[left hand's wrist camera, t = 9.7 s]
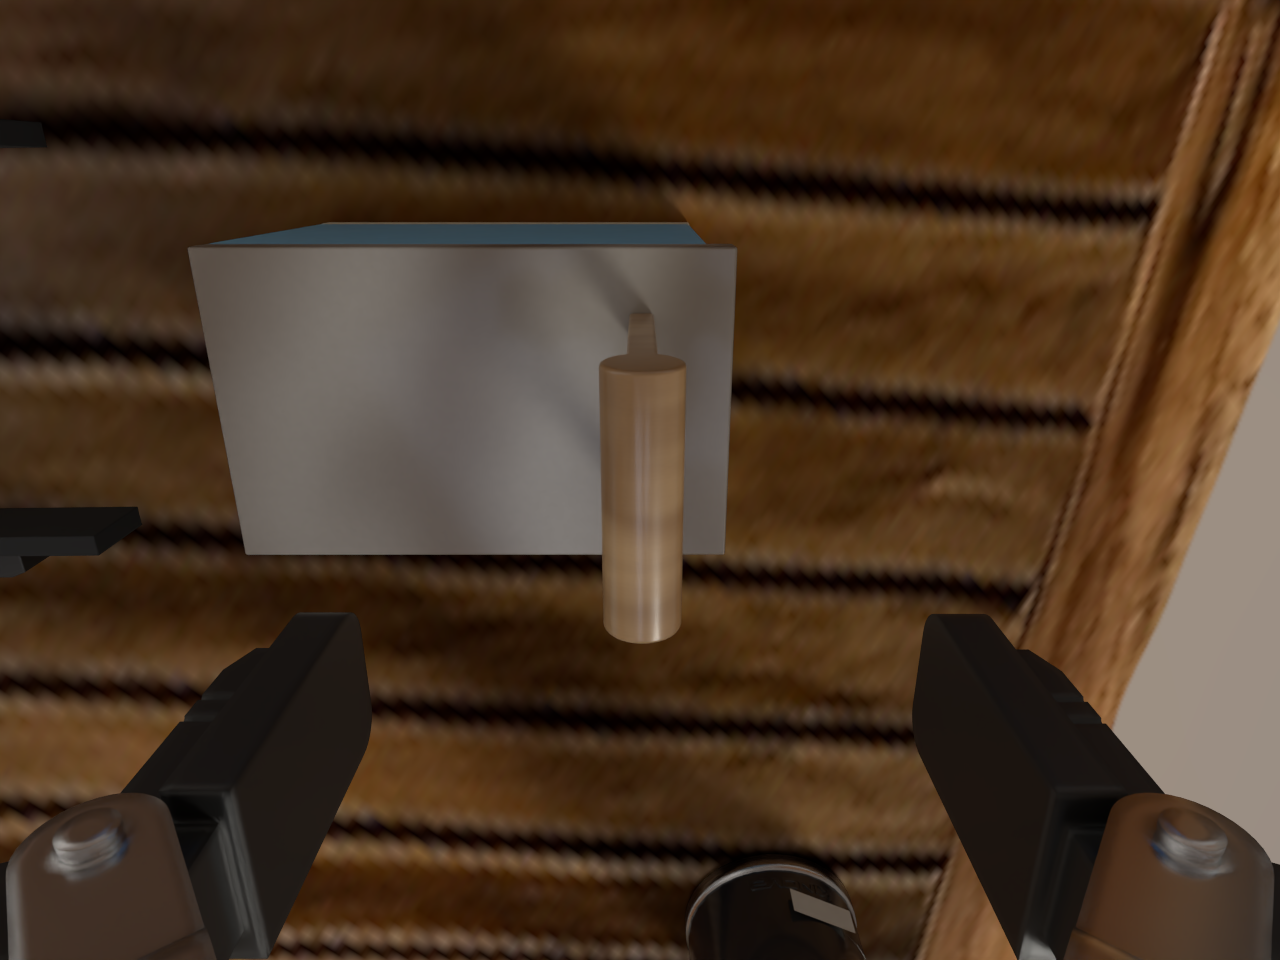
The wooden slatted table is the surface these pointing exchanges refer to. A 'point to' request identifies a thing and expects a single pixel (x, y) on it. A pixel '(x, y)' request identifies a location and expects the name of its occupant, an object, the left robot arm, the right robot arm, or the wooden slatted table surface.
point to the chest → (481, 233)
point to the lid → (480, 403)
